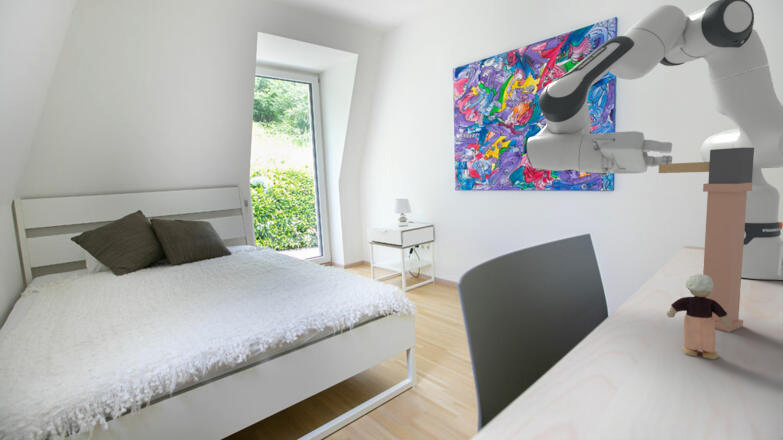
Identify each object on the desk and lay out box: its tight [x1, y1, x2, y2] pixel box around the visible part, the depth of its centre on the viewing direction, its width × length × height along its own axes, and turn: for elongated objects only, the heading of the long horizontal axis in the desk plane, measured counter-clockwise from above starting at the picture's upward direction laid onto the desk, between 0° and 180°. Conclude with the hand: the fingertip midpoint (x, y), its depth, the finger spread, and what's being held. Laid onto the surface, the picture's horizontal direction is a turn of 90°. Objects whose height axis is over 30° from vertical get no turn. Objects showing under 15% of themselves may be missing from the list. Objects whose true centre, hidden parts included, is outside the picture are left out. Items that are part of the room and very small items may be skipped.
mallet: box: [658, 148, 754, 184], centre depth 70 cm, size 4×13×6 cm, turn 27°
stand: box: [702, 183, 753, 333], centre depth 68 cm, size 5×5×26 cm
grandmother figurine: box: [666, 273, 732, 360], centre depth 58 cm, size 8×4×13 cm, turn 65°
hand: (671, 154), depth 78 cm, fingers open, 8 cm apart
